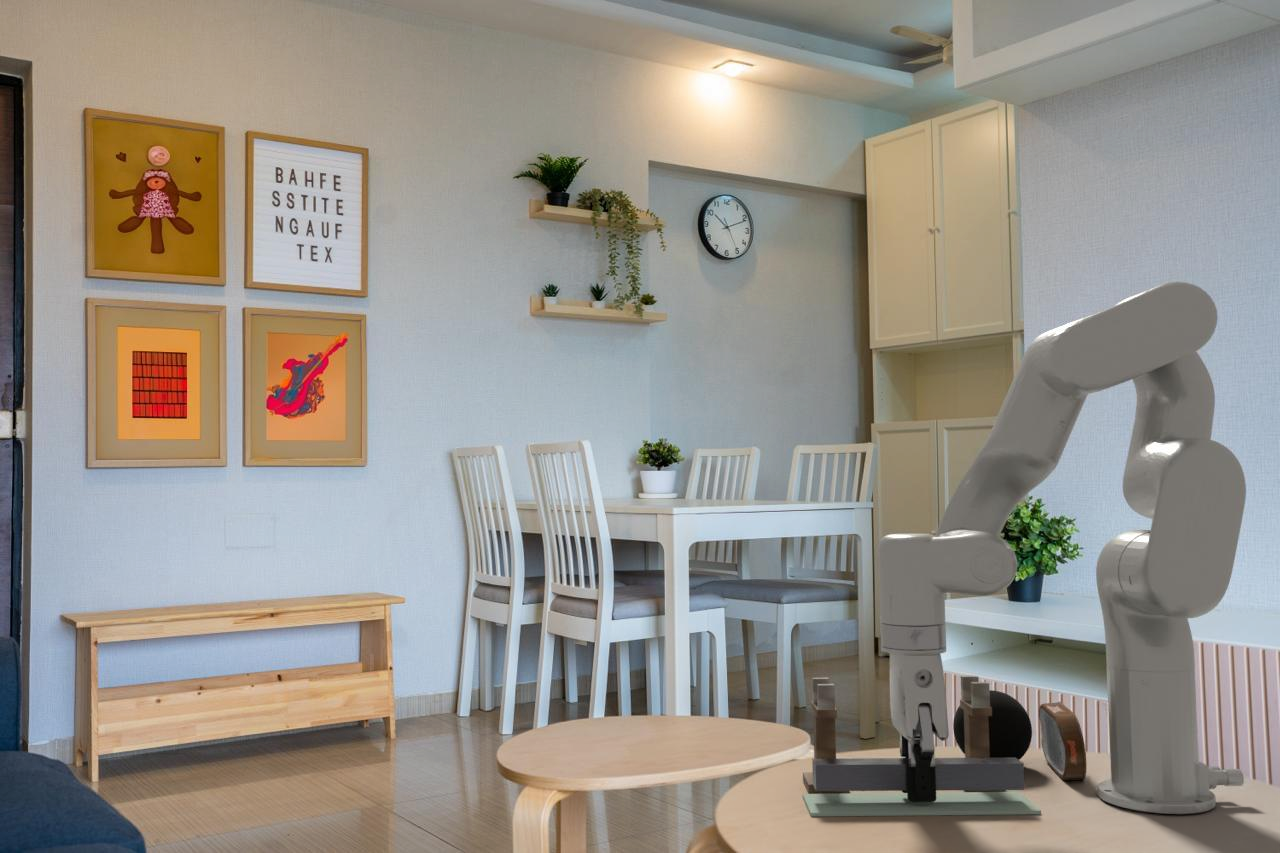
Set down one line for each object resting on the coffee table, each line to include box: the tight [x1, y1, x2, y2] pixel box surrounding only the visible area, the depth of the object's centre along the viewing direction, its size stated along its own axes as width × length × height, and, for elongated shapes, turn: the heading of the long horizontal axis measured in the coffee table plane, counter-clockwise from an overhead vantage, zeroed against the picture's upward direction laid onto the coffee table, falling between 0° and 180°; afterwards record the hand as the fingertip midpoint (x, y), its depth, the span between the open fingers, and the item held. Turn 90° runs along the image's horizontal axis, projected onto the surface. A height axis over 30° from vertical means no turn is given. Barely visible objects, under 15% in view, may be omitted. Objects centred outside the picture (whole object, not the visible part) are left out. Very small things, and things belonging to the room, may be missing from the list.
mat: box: [802, 791, 1042, 817], centre depth 131 cm, size 26×8×1 cm, turn 89°
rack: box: [802, 675, 1007, 794], centre depth 140 cm, size 24×6×13 cm, turn 89°
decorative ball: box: [952, 689, 1033, 761], centre depth 149 cm, size 10×10×10 cm
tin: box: [1038, 701, 1087, 781], centre depth 145 cm, size 15×3×8 cm, turn 172°
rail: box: [811, 757, 1025, 792], centre depth 131 cm, size 24×3×3 cm, turn 89°
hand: (918, 795), depth 131 cm, fingers closed on rail, 3 cm apart
